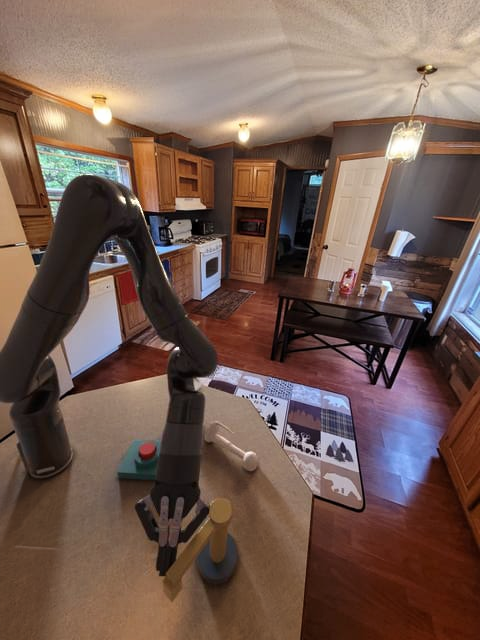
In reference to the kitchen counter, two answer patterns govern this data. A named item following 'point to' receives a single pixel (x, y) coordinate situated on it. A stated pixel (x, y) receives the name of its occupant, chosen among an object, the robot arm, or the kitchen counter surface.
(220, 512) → the spout
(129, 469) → the control block
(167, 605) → the kitchen counter surface
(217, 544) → the tap base
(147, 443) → the button
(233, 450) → the faucet
